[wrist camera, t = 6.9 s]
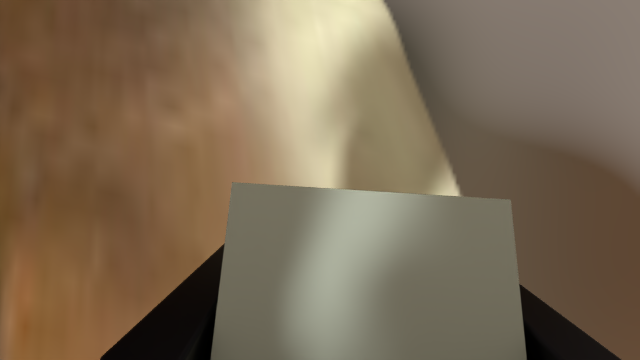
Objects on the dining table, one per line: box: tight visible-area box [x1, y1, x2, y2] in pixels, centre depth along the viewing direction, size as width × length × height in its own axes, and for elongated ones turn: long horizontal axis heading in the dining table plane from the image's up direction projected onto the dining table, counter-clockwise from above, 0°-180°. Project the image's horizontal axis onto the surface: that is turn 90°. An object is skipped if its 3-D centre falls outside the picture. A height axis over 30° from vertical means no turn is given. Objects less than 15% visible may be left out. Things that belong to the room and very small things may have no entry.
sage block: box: [211, 182, 527, 360], centre depth 10 cm, size 5×5×9 cm
